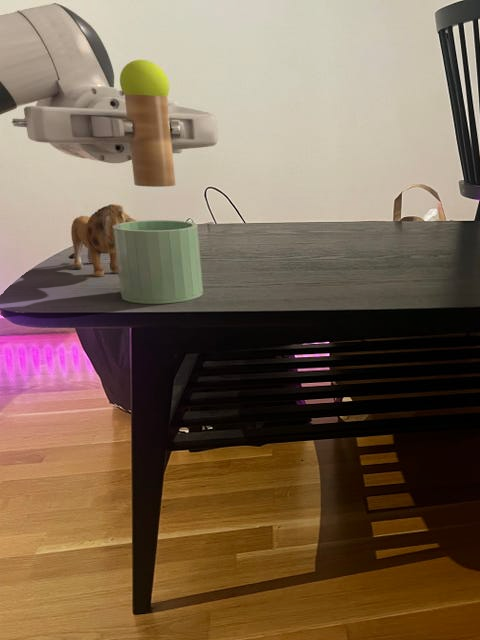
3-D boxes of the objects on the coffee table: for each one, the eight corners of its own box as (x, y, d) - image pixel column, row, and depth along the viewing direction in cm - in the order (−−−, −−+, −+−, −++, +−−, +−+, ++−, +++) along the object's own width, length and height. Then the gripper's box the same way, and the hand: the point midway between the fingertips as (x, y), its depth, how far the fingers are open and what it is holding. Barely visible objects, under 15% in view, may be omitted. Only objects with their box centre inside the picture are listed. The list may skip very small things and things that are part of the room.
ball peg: (134, 187, 76) (120, 56, 71) (128, 183, 79) (114, 59, 75) (182, 186, 78) (170, 60, 74) (174, 182, 82) (162, 62, 78)
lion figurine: (150, 275, 91) (142, 204, 88) (110, 281, 86) (100, 207, 84) (88, 259, 98) (79, 194, 95) (48, 265, 94) (37, 196, 91)
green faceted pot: (126, 307, 76) (117, 232, 73) (117, 290, 82) (108, 221, 80) (210, 299, 80) (204, 229, 77) (195, 284, 87) (189, 219, 84)
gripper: (2, 91, 77) (40, 91, 68) (185, 102, 91) (237, 103, 82) (12, 151, 79) (50, 159, 70) (189, 152, 93) (240, 159, 84)
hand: (153, 129), depth 76 cm, fingers closed on ball peg, 4 cm apart
